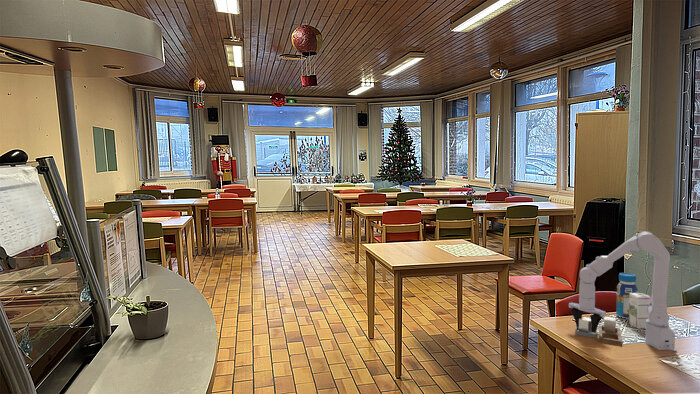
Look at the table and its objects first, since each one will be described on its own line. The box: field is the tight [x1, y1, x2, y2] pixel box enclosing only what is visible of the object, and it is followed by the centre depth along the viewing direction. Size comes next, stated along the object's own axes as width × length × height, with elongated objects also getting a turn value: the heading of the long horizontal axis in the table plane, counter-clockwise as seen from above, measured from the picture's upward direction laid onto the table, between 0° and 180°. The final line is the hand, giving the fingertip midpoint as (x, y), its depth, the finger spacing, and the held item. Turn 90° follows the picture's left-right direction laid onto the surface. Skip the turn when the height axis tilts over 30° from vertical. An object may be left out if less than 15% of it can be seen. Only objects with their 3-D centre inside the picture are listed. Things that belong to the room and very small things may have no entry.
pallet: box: [598, 324, 623, 346], centre depth 174 cm, size 16×8×2 cm, turn 150°
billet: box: [603, 316, 617, 333], centre depth 177 cm, size 4×4×6 cm
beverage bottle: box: [615, 272, 639, 320], centre depth 199 cm, size 8×8×20 cm
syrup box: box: [628, 292, 651, 329], centre depth 186 cm, size 6×6×14 cm
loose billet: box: [578, 316, 595, 334], centre depth 178 cm, size 4×4×6 cm
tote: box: [574, 325, 598, 339], centre depth 178 cm, size 8×8×2 cm
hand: (586, 329), depth 178 cm, fingers open, 6 cm apart
